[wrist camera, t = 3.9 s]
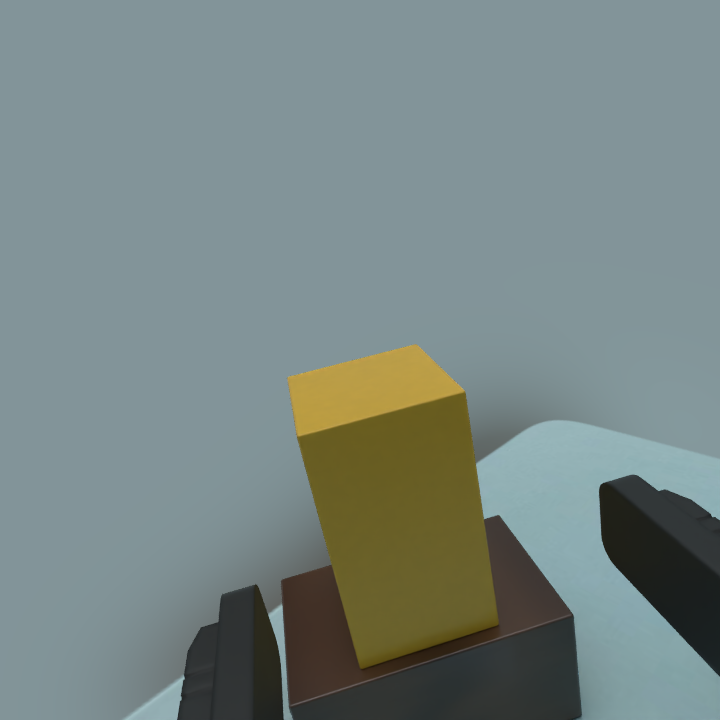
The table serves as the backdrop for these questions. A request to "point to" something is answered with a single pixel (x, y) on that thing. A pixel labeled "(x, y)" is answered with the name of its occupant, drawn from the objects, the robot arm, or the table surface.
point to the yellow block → (396, 500)
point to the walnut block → (438, 654)
